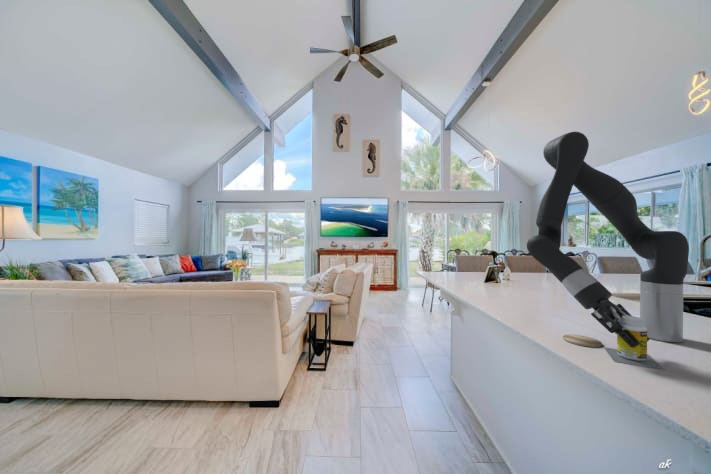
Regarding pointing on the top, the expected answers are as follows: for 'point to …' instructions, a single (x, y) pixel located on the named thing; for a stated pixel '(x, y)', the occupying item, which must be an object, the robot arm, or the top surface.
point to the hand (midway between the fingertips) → (641, 343)
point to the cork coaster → (582, 340)
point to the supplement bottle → (639, 333)
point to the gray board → (647, 363)
